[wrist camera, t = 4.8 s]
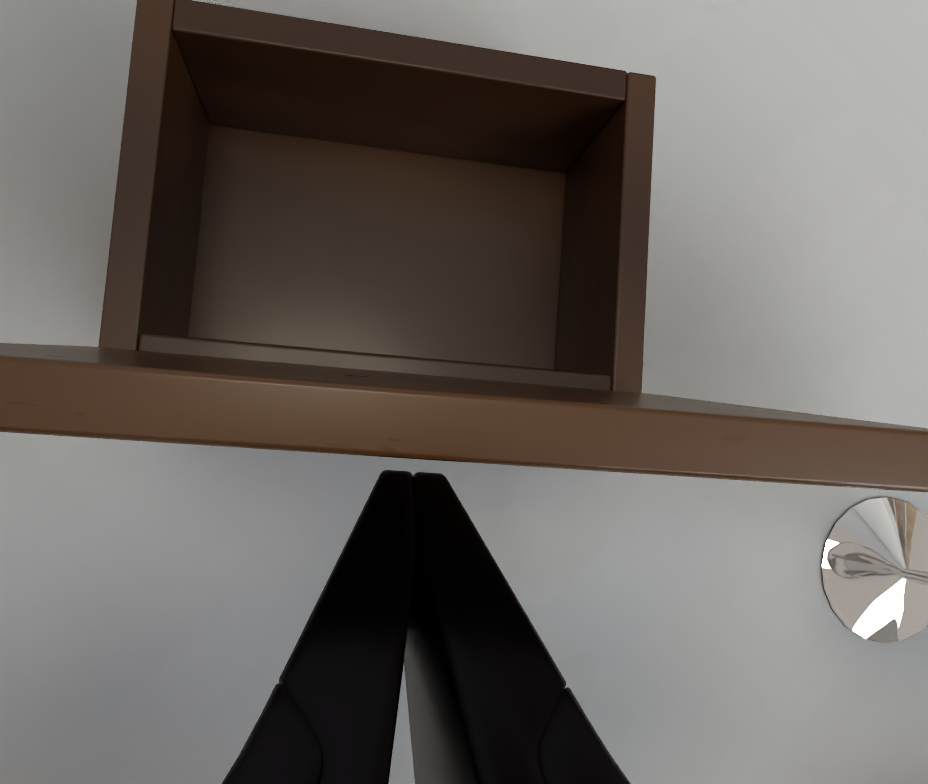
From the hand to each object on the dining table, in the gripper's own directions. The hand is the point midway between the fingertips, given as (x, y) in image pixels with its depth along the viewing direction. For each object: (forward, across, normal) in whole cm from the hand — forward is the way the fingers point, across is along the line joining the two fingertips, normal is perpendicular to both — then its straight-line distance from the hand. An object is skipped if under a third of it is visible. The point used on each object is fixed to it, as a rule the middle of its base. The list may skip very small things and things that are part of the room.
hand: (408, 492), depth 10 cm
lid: (+3, 0, 0) cm, 3 cm away
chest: (+13, 0, +5) cm, 14 cm away
